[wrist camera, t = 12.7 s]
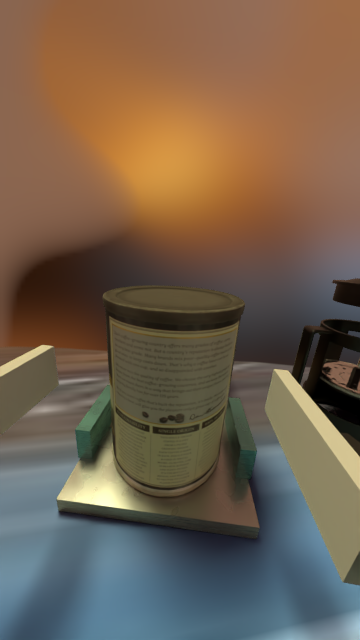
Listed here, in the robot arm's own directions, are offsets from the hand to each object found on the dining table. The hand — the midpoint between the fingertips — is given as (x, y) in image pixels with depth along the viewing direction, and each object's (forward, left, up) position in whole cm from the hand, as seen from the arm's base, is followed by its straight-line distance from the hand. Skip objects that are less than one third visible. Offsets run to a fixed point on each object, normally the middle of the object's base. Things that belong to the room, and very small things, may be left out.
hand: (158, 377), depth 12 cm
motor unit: (0, -9, -11) cm, 14 cm away
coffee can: (0, -5, -10) cm, 11 cm away
